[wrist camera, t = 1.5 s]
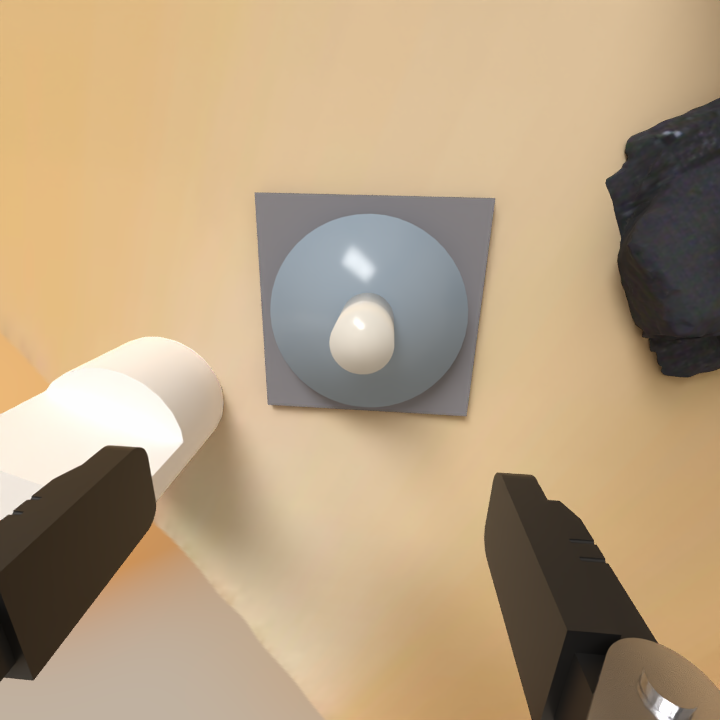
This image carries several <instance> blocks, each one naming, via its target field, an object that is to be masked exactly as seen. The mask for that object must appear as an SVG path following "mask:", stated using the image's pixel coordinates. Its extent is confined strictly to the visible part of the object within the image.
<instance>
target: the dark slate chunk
mask: <svg viewBox="0 0 720 720" xmlns="http://www.w3.org/2000/svg"><path fill="white" fill-rule="evenodd" d="M625 153H626V155H627V156H628V159H627V162H625V163H624V164H623V166H622V168H621V169H620V170H619V171H618V172H617V173H615V174H614V175H613V176H611V177H609V178H607V179H606V186H607V189H608V191H609V193H610V196H611V199H612V201H613V206H614V212H615V216H616V220H617V223H618V227H619V231H620V235H621V242H620V250H619V254H618V260H617V261H618V267H619V271H620V275H621V283H622V286H623V288H624V290H625V293H626V297H627V300H628V304H629V308H630V312H631V315H632V318H633V320H634V322H635V324H636V325H637V326H638V327H640V328H641V329H642V330H643V334H642V337H645V338H649V342H650V350H651V352H656V354H657V360H658V364H659V365H660V366H661V367H662V370H661V372H662V373H663V374H664V375H668V376H676V377H691V376H693V375H696V374H698V373H704V372H710V371H714V370H717V369H720V98H718V99H716V100H714V101H712V102H710V103H708V104H706V105H704V106H701V107H698V108H695V109H692V110H690V111H689V112H687V113H685V114H684V115H681V116H678V117H675V118H672V119H669V120H665V121H663V122H661V123H659V124H657V125H656V126H654V127H652V128H650V129H648V130H646V131H643V132H641V133H638V134H636V135H634V136H632V137H630V138H629V140H628V141H627V144H626V149H625Z"/></svg>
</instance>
